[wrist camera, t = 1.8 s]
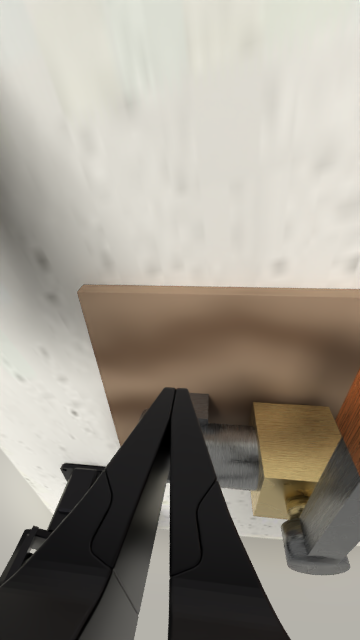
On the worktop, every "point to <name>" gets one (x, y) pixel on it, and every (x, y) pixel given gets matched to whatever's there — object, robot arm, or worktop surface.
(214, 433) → the valve body
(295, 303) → the mounting board
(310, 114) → the worktop surface
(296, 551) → the lever
